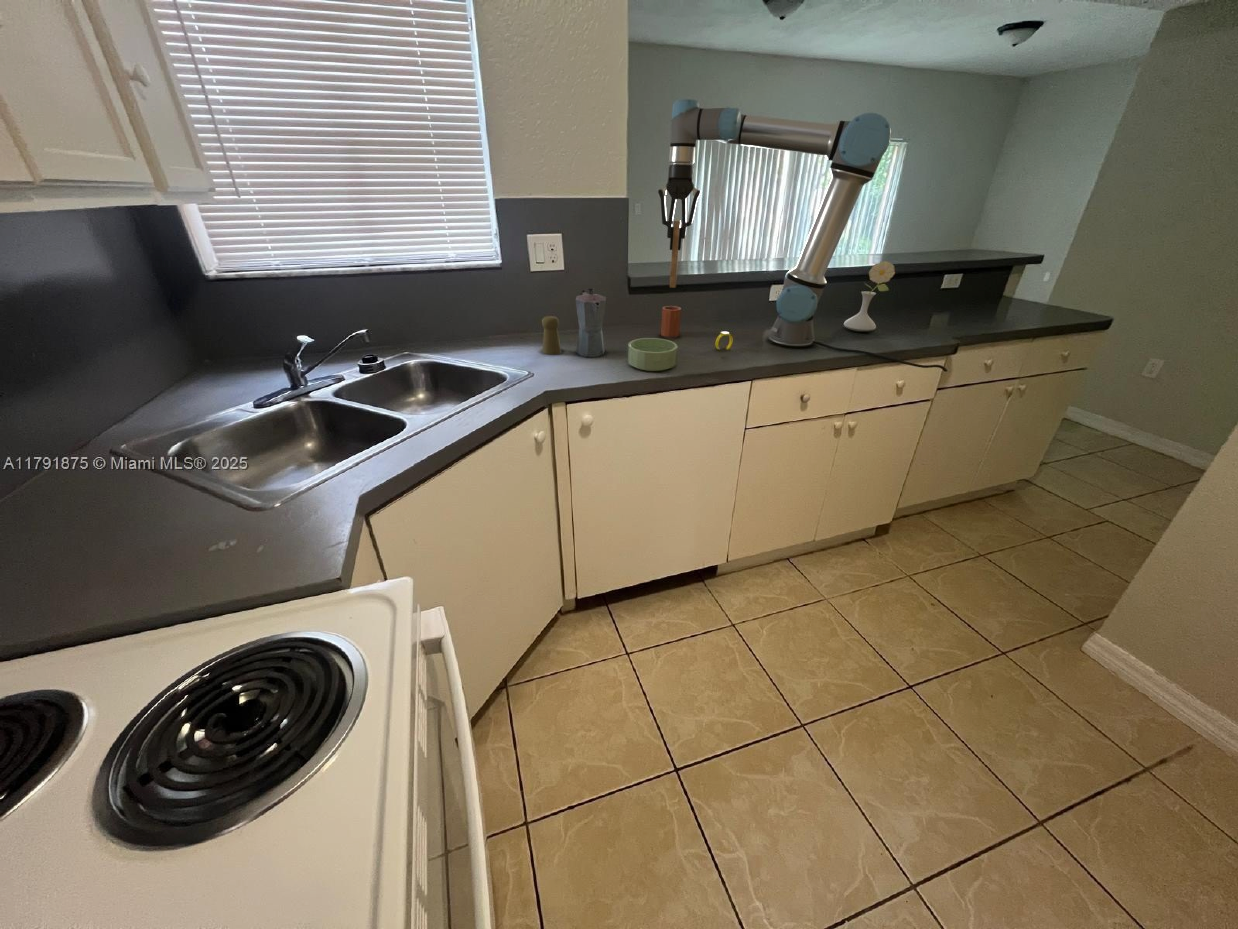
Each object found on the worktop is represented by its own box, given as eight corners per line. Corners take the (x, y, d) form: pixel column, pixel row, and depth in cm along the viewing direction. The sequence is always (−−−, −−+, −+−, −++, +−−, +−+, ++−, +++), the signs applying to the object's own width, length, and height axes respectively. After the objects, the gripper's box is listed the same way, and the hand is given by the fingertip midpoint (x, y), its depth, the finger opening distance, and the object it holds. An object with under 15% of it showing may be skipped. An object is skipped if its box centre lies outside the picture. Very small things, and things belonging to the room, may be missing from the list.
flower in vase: (836, 328, 187) (853, 258, 174) (852, 324, 193) (870, 256, 180) (868, 336, 178) (889, 264, 165) (884, 332, 184) (906, 261, 171)
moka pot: (585, 362, 148) (584, 293, 137) (566, 347, 159) (564, 284, 149) (613, 357, 152) (614, 291, 141) (593, 344, 163) (592, 281, 153)
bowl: (678, 358, 152) (679, 339, 149) (673, 374, 140) (674, 354, 137) (632, 355, 154) (632, 336, 151) (623, 370, 142) (624, 350, 139)
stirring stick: (676, 286, 164) (680, 220, 154) (675, 287, 162) (680, 221, 152) (670, 286, 164) (674, 220, 154) (669, 287, 162) (673, 220, 152)
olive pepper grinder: (564, 349, 157) (563, 315, 152) (556, 355, 152) (554, 320, 147) (547, 347, 159) (545, 313, 153) (539, 353, 154) (536, 318, 148)
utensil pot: (679, 334, 175) (681, 306, 170) (677, 340, 170) (680, 310, 164) (661, 333, 176) (663, 305, 171) (659, 338, 171) (661, 309, 166)
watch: (728, 348, 163) (730, 330, 160) (733, 350, 161) (735, 332, 157) (713, 350, 160) (715, 332, 157) (717, 352, 158) (720, 334, 155)
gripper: (707, 164, 147) (699, 249, 159) (658, 164, 150) (654, 247, 162) (706, 164, 141) (697, 252, 153) (654, 163, 143) (650, 249, 155)
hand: (675, 249), depth 157 cm, fingers closed on stirring stick, 2 cm apart
